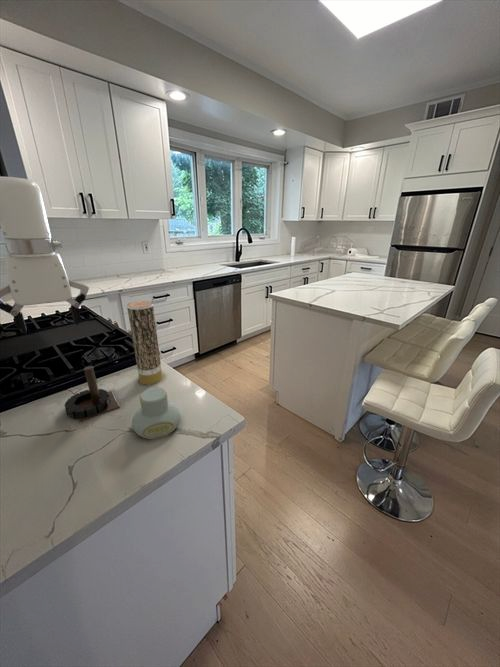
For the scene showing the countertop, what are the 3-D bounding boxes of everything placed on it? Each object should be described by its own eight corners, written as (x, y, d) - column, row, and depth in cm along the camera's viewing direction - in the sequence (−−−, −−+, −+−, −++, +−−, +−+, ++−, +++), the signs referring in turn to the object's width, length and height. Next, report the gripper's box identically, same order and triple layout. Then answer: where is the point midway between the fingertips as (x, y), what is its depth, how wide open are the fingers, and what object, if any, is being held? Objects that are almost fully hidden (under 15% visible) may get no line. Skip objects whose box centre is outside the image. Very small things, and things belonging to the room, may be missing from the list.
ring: (69, 424, 66) (67, 417, 65) (64, 403, 73) (62, 397, 73) (114, 408, 72) (112, 401, 71) (105, 390, 79) (104, 384, 78)
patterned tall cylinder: (161, 374, 91) (152, 300, 81) (163, 384, 85) (153, 306, 75) (139, 377, 88) (127, 302, 79) (140, 389, 82) (126, 308, 73)
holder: (82, 425, 68) (69, 381, 63) (76, 406, 75) (65, 365, 70) (120, 411, 73) (112, 369, 68) (112, 394, 80) (104, 356, 75)
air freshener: (134, 447, 62) (127, 410, 58) (133, 423, 69) (127, 389, 65) (184, 434, 65) (180, 399, 62) (178, 413, 72) (175, 380, 69)
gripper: (77, 245, 63) (91, 315, 70) (-25, 247, 53) (2, 329, 60) (83, 248, 58) (97, 324, 64) (-31, 251, 48) (0, 341, 54)
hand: (51, 327), depth 62 cm, fingers open, 9 cm apart
